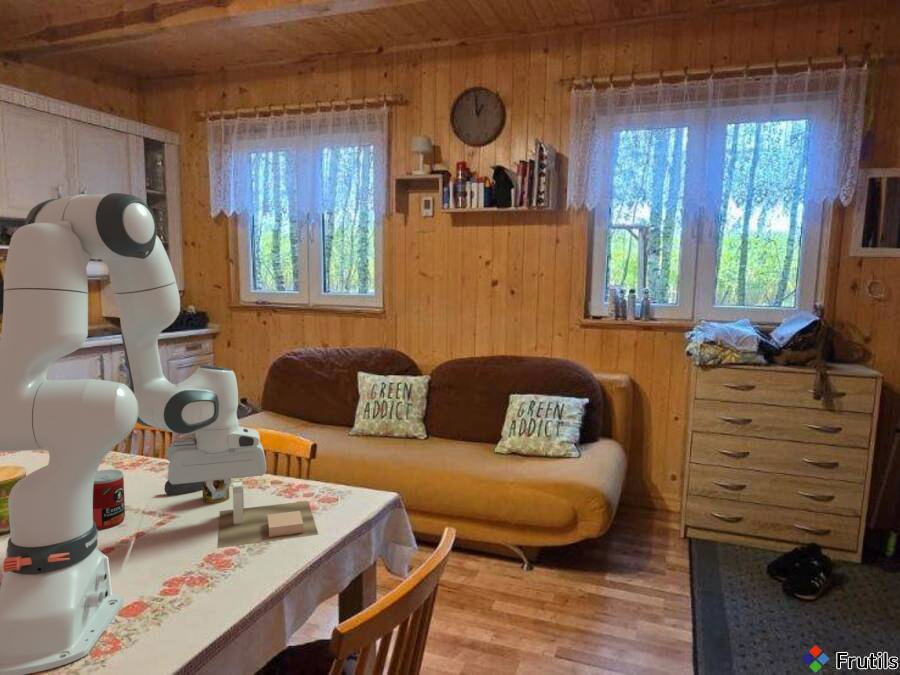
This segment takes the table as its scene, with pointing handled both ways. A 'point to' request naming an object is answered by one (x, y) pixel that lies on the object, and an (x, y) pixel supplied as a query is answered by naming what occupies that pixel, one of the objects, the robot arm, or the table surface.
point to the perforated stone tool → (182, 488)
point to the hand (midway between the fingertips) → (219, 497)
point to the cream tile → (238, 503)
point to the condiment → (208, 494)
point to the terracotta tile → (285, 523)
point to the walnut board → (261, 524)
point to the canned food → (108, 498)
